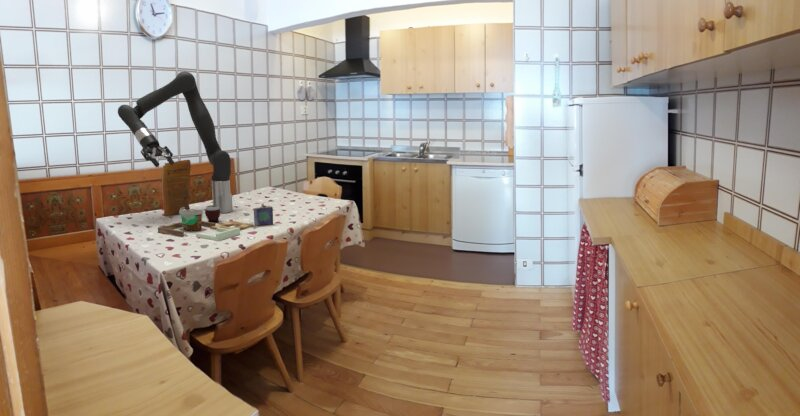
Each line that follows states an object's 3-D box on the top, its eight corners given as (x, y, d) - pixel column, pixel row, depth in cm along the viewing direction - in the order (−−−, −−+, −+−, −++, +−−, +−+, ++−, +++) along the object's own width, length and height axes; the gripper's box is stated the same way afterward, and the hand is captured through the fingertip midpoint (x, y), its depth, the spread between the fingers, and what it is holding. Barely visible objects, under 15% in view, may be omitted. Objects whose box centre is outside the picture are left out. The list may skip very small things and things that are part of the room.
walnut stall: (192, 223, 251) (192, 219, 251) (215, 227, 244) (215, 223, 244) (158, 232, 234) (157, 227, 234) (181, 236, 227) (181, 232, 227)
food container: (174, 230, 239) (172, 208, 237) (185, 227, 244) (183, 206, 242) (192, 233, 233) (191, 211, 231) (203, 230, 239) (202, 209, 237)
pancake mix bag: (197, 211, 279) (194, 159, 273) (167, 217, 263) (163, 163, 257) (189, 209, 282) (186, 158, 277) (158, 216, 266) (154, 162, 260)
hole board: (232, 222, 254) (232, 220, 254) (253, 226, 248) (253, 224, 248) (210, 228, 242) (210, 226, 242) (232, 232, 236) (232, 230, 236)
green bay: (218, 230, 239) (218, 224, 238) (240, 234, 233) (239, 227, 233) (196, 236, 228) (195, 230, 227) (218, 240, 222) (217, 234, 221)
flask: (255, 226, 248) (254, 204, 245) (253, 225, 250) (252, 203, 248) (273, 224, 252) (273, 203, 250) (272, 223, 255) (271, 202, 252)
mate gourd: (202, 222, 253) (200, 192, 250) (213, 219, 261) (212, 190, 258) (214, 224, 251) (213, 194, 248) (225, 221, 258) (224, 191, 255)
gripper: (137, 134, 240) (156, 161, 238) (162, 133, 253) (181, 158, 250) (130, 145, 243) (149, 171, 241) (155, 143, 256) (174, 168, 254)
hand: (165, 165), depth 246 cm, fingers open, 8 cm apart
